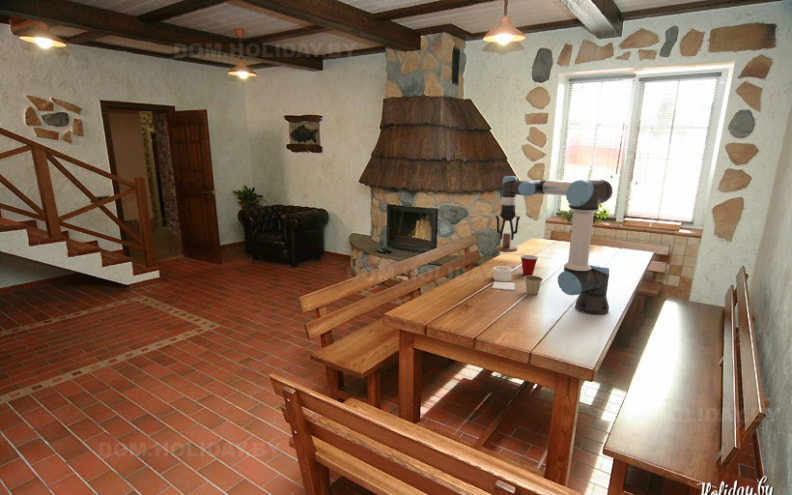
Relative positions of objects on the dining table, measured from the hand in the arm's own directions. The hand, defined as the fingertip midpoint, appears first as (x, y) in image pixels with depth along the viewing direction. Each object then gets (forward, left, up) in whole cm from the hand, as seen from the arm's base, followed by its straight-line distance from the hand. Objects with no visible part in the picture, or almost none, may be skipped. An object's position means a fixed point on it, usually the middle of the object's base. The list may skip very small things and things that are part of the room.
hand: (506, 245), depth 237 cm
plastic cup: (-13, -26, -24) cm, 38 cm away
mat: (0, +2, -24) cm, 24 cm away
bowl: (+2, -12, -24) cm, 27 cm away
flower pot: (-16, +9, -24) cm, 30 cm away
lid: (0, 0, -3) cm, 3 cm away
